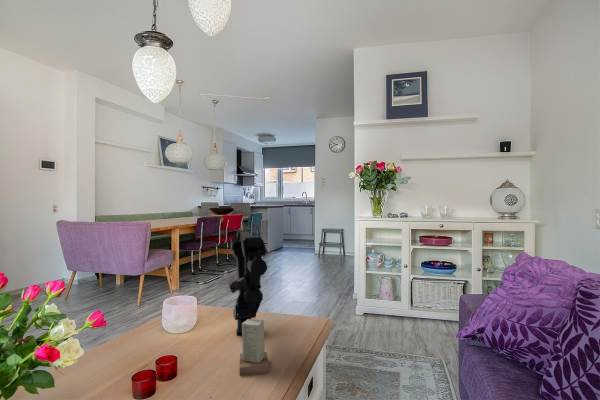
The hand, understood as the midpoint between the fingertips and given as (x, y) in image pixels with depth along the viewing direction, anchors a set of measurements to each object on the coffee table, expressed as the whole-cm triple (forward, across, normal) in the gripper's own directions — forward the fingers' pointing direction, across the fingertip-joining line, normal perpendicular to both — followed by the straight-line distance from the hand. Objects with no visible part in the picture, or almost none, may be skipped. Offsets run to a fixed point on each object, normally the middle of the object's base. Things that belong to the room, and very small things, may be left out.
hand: (252, 313), depth 118 cm
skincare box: (+11, +13, 0) cm, 17 cm away
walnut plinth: (+13, +13, 0) cm, 18 cm away
